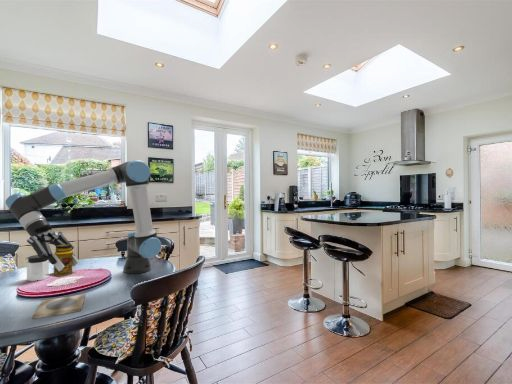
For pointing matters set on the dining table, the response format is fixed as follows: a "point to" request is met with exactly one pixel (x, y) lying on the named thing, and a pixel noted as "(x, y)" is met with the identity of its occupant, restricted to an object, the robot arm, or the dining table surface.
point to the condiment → (64, 260)
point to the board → (59, 306)
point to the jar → (37, 268)
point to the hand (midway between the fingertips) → (69, 266)
